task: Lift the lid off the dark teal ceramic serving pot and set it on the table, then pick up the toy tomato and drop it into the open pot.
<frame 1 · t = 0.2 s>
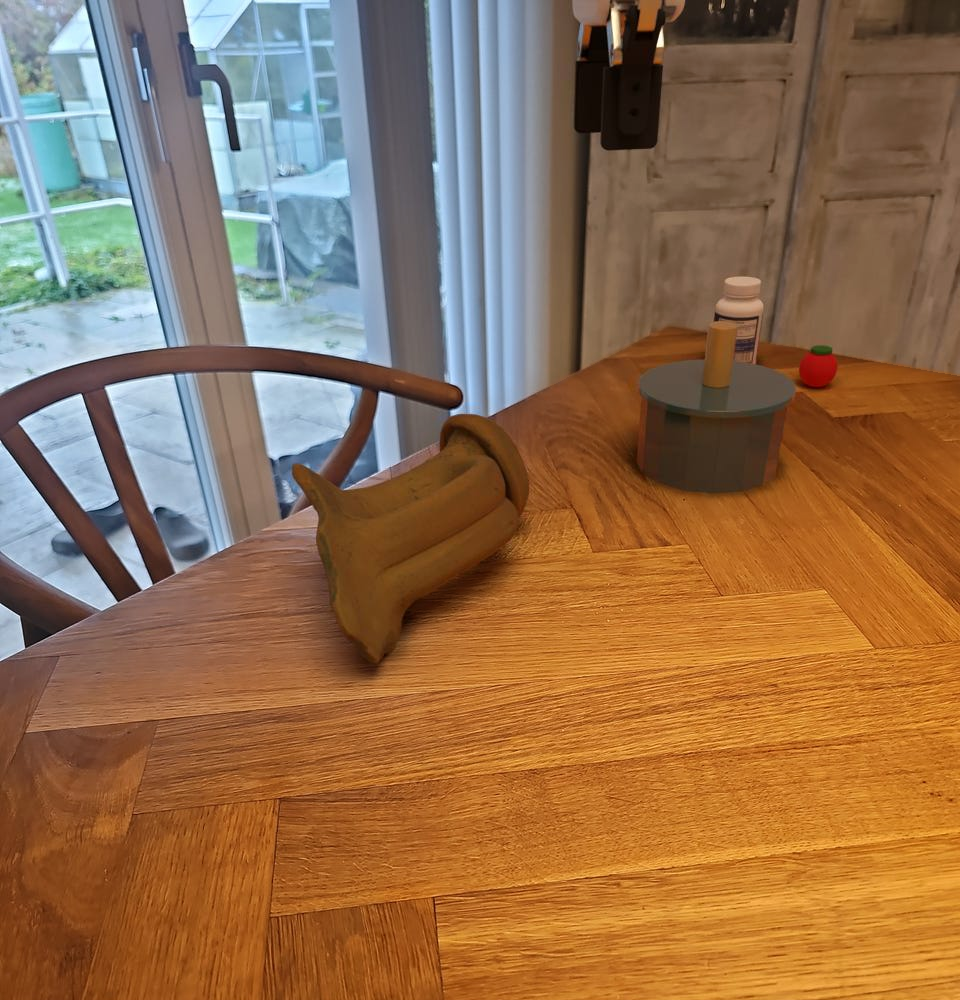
hand: (612, 139, 54), 28 cm above the table, tool pointing down, fingers open, 9 cm apart
pot: (705, 469, 81), on the table
brown fluted pedestal: (419, 588, 66), on the table
lid: (715, 390, 77), point 7 cm above the table, touching pot
pill bottle: (731, 368, 104), on the table
toy tomato: (814, 386, 98), on the table
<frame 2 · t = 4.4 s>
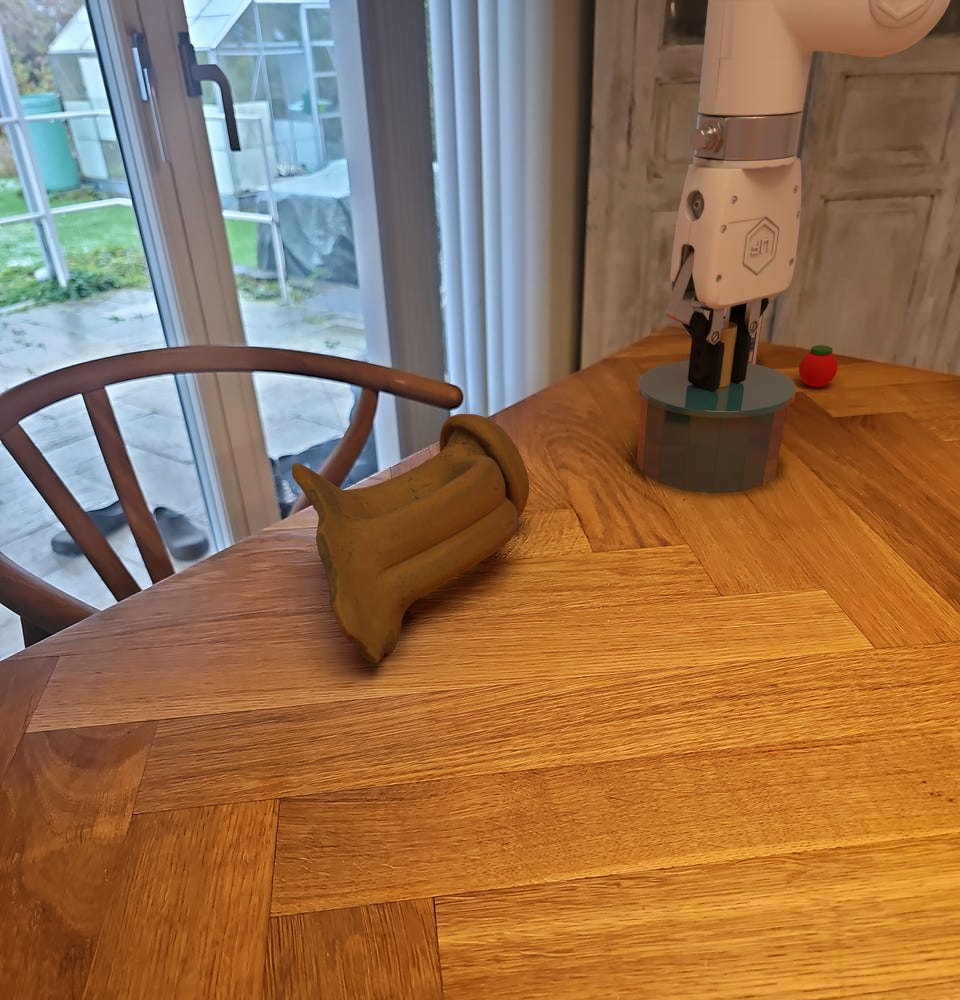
hand: (716, 380, 76), 8 cm above the table, tool pointing down, fingers closed on lid, 2 cm apart
lid: (715, 390, 77), point 8 cm above the table, touching gripper, pot
everything else where it was.
when the fingers open (1 cm above the table, at t = 11.6 s): lid stays where it is, point 1 cm above the table.
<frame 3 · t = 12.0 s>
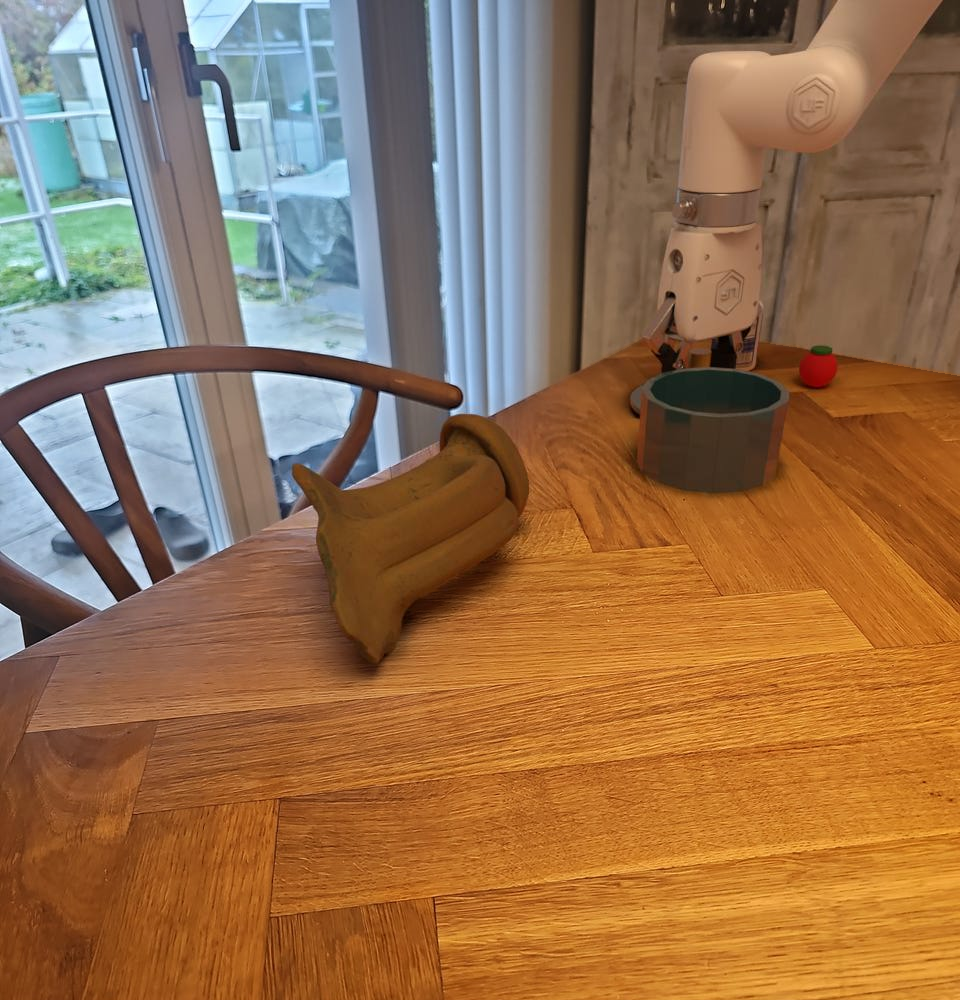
hand: (695, 394, 93), 2 cm above the table, tool pointing down, fingers open, 6 cm apart
lid: (693, 404, 93), point 1 cm above the table
everything else where it was.
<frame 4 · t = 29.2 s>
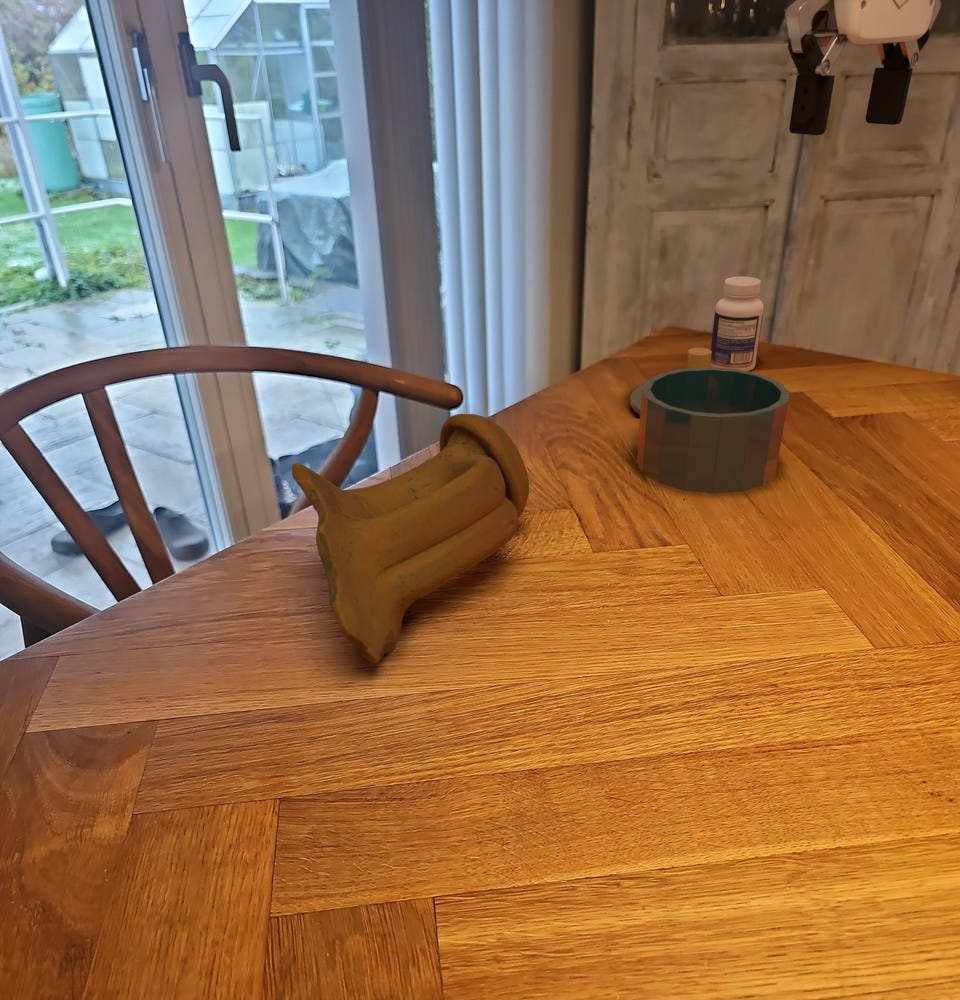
hand: (845, 128, 73), 26 cm above the table, tool pointing down, fingers open, 9 cm apart
toy tomato: (697, 445, 79), point 3 cm above the table, tilted 93°, touching pot
everything else where it was.
at the end: lid point 0.6 cm above the table; toy tomato inside the target area in the pot (1.2 cm from its centre), point 2.6 cm above the pot's base; the gripper is holding nothing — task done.
